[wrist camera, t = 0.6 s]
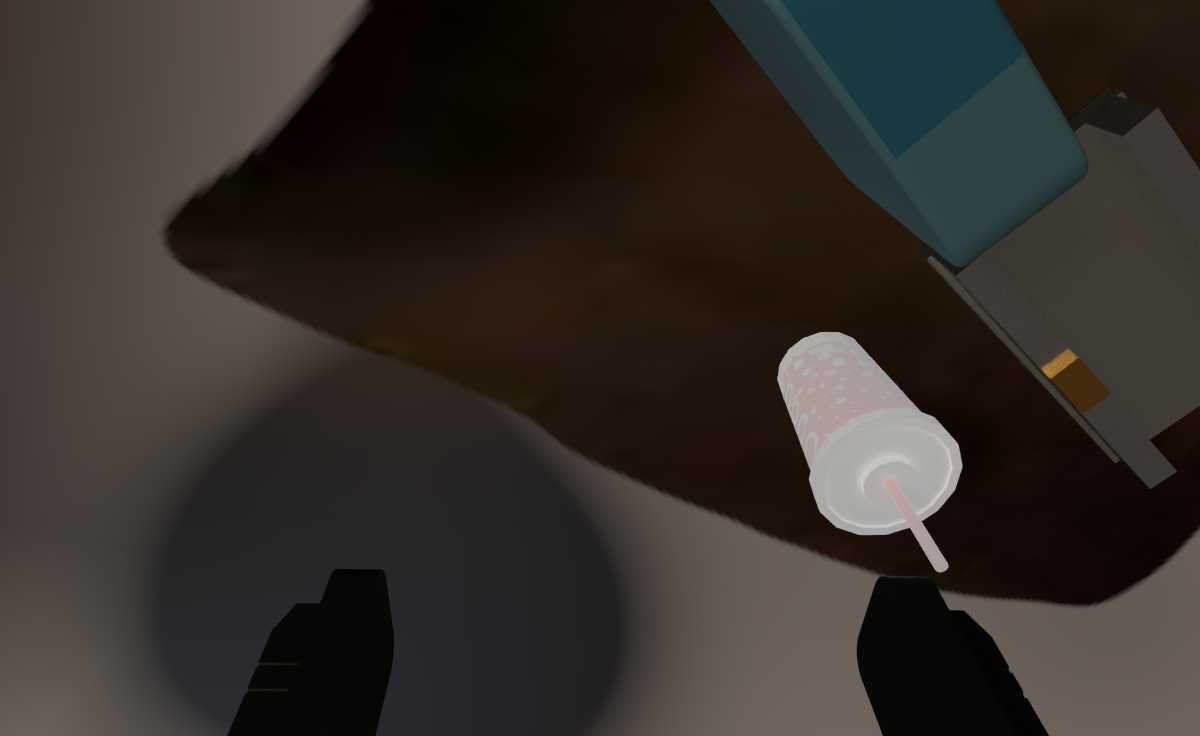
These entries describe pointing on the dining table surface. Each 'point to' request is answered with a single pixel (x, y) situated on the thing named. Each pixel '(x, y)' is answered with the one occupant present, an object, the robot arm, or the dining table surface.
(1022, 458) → the dining table surface
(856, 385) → the beverage cup
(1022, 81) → the data package
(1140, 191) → the grey tray
